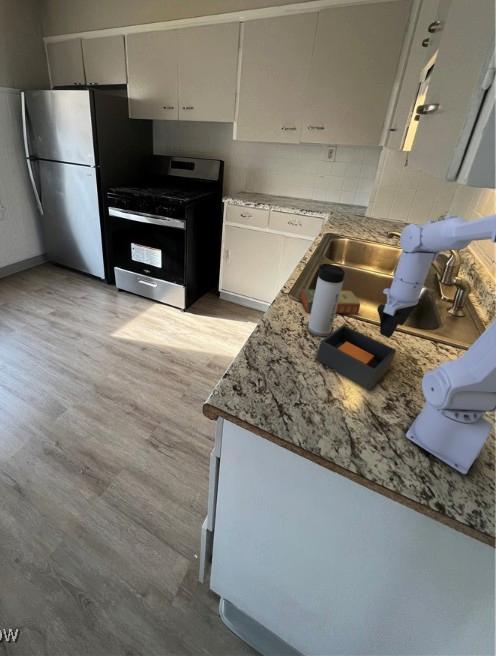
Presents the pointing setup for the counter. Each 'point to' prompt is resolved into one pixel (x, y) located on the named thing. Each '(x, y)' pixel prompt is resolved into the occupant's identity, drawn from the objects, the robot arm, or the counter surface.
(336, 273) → the travel mug
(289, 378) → the counter surface
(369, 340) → the bin
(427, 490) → the counter surface
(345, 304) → the carton
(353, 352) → the block
